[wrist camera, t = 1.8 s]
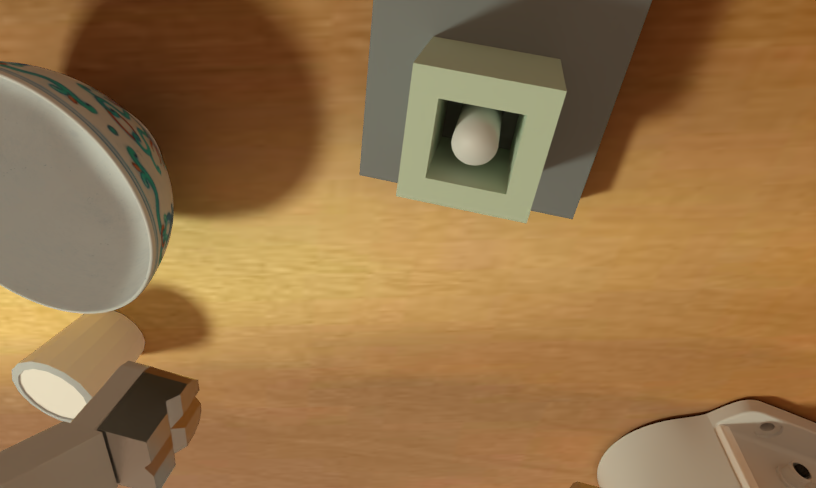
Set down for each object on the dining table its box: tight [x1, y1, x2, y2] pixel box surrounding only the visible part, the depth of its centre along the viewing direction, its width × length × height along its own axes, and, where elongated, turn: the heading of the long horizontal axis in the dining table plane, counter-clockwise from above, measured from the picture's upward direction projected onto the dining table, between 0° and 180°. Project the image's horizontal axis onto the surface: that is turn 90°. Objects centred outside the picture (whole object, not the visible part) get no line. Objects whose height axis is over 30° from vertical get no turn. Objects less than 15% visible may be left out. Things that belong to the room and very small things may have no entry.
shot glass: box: [12, 310, 145, 423], centre depth 42 cm, size 7×7×7 cm
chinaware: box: [0, 61, 174, 314], centre depth 31 cm, size 15×15×8 cm
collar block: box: [396, 36, 567, 223], centre depth 24 cm, size 6×6×5 cm
